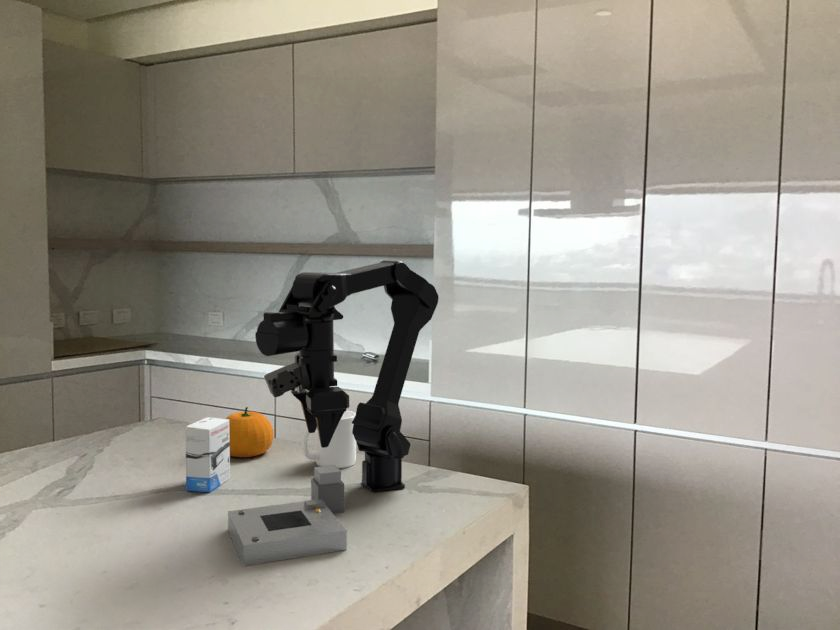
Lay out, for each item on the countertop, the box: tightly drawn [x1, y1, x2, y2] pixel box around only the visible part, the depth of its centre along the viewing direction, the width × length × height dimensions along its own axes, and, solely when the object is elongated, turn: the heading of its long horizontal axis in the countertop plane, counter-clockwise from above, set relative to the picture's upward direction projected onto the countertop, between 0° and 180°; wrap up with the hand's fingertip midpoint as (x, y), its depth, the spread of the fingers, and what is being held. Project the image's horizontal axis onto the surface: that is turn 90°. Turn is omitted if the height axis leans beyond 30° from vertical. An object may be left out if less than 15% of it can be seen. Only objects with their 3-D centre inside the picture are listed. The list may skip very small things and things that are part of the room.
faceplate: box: [227, 499, 348, 567], centre depth 114 cm, size 15×14×4 cm
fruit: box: [225, 406, 275, 458], centre depth 158 cm, size 12×12×10 cm
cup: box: [301, 410, 357, 470], centre depth 151 cm, size 8×12×10 cm
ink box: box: [184, 416, 231, 493], centre depth 138 cm, size 8×5×12 cm, turn 168°
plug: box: [310, 465, 345, 515], centre depth 126 cm, size 4×4×7 cm
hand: (317, 439), depth 126 cm, fingers open, 9 cm apart
